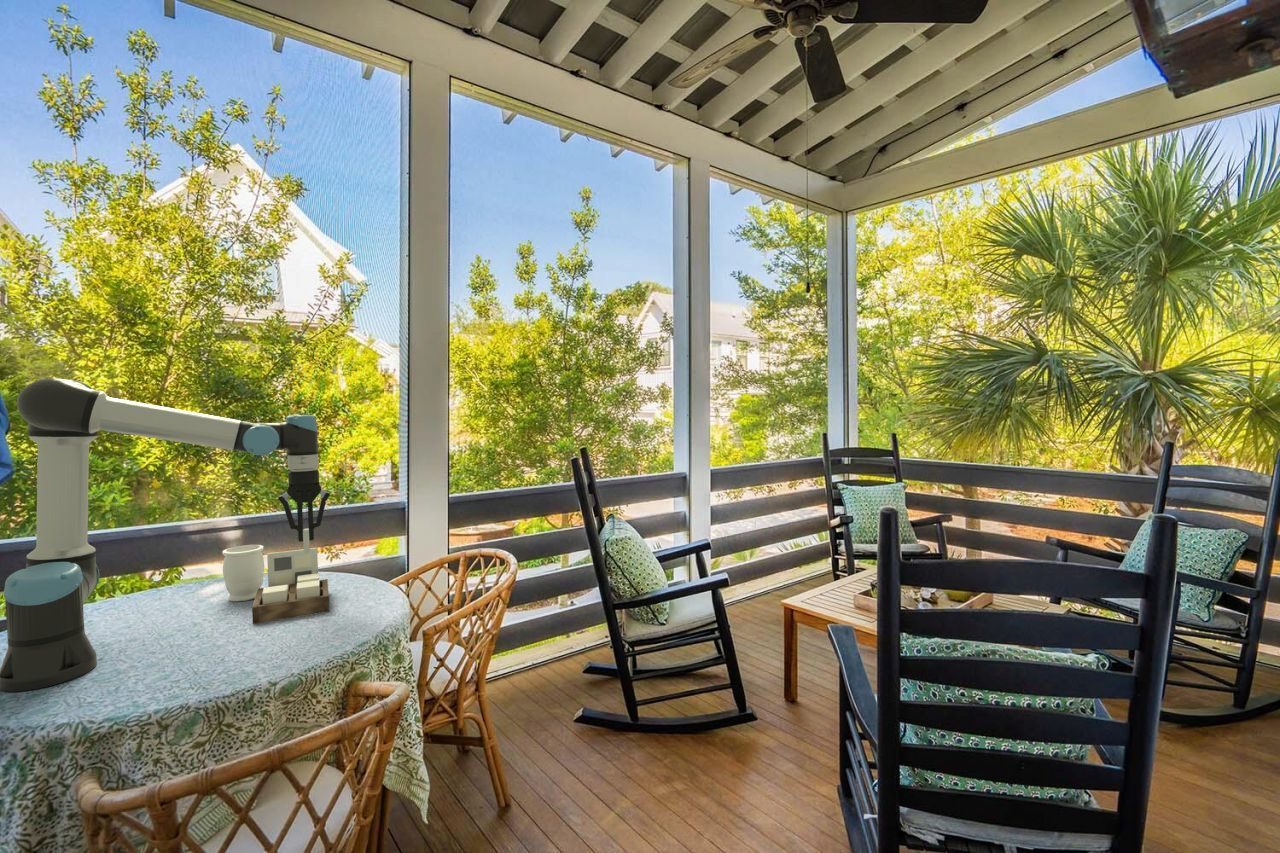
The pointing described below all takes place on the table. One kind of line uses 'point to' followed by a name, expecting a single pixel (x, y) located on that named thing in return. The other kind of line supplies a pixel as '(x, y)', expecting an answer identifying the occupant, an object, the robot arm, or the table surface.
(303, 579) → the button far right
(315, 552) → the card
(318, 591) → the button near right
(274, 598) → the button near left
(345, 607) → the table surface
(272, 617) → the board
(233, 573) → the jar
